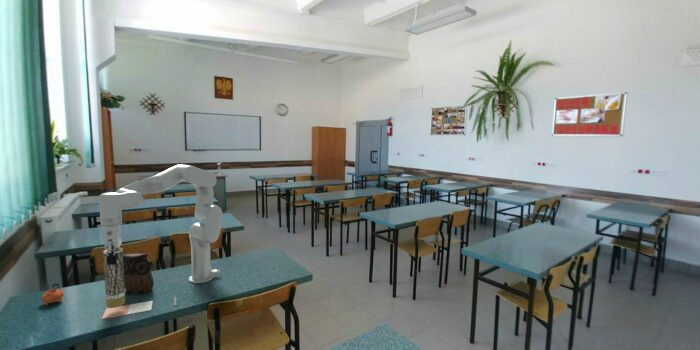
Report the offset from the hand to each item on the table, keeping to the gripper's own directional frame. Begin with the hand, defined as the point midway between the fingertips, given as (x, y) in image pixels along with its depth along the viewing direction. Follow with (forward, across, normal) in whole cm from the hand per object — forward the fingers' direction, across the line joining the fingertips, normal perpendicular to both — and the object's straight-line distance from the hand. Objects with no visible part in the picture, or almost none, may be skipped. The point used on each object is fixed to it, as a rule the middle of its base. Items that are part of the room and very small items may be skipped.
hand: (113, 260), depth 143 cm
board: (+24, 0, -10) cm, 25 cm away
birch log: (+20, 0, 0) cm, 20 cm away
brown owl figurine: (+24, +20, -8) cm, 32 cm away
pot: (+24, +21, +27) cm, 42 cm away
